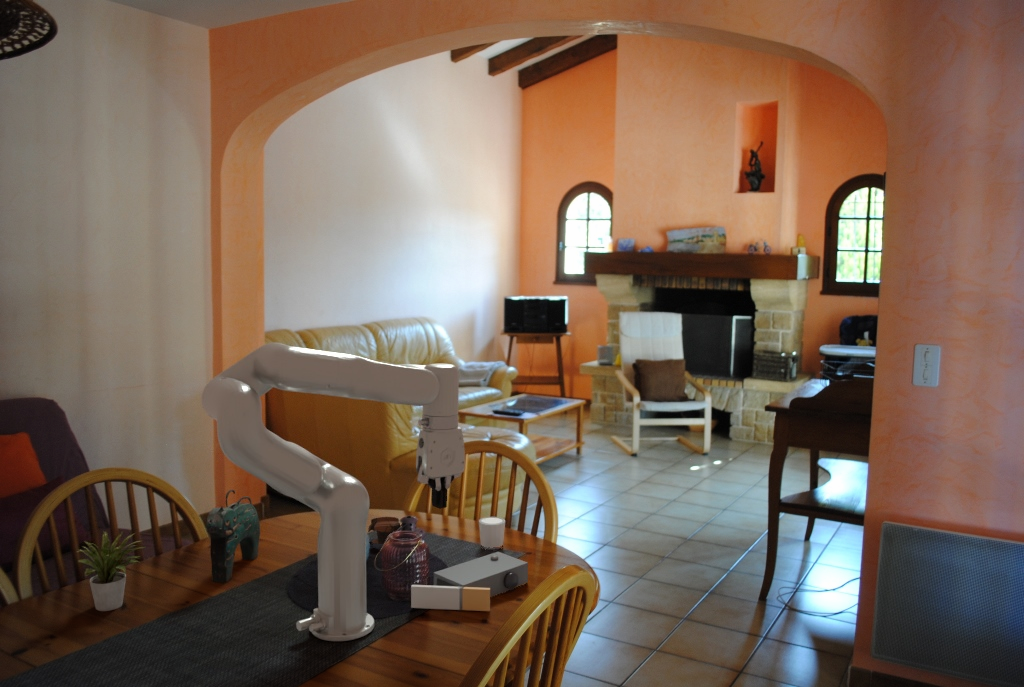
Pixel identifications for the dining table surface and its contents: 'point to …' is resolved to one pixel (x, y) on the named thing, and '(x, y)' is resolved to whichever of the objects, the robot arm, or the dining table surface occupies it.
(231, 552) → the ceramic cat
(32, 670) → the dining table surface
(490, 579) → the box
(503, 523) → the white cup
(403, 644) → the dining table surface
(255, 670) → the dining table surface
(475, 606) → the side door
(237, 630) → the dining table surface
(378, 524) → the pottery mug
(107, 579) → the house plant
